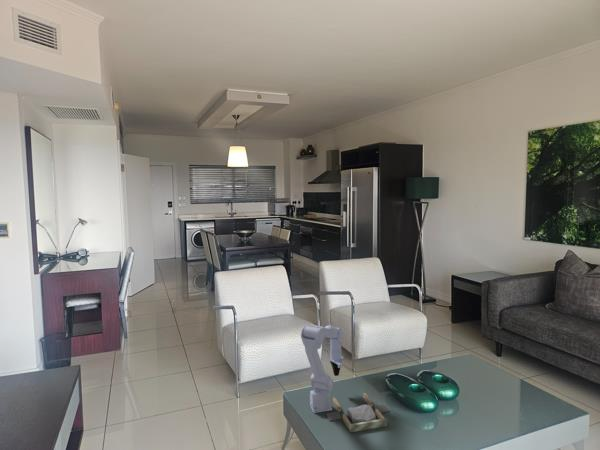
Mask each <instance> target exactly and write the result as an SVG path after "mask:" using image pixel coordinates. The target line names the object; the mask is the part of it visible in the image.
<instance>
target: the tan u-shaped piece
mask: <svg viewBox="0 0 600 450" xmlns="http://www.w3.org/2000/svg"><path fill="white" fill-rule="evenodd" d="M362 395H363V397H362V398H363V399H364V401H365V403H367V404H366V405H370V406H371V408H374V407H373V406H374V405H373V403H374V402H373V401H372V399H371V398H370V397H369V396H368V394H367V393H366V392H363V394H362ZM332 403H333V405H334V406H335V408H336V411H337V412H339V413H341V412H342V406H341V404H340V403H339V401H338V400H337V398H336V397H332ZM374 410H375V411H374V413H375V416H376V418H378V419H376V420H372V421H366V422H360V423H351V421H350V420H349V419H350V418H349V417H348V415H347V414H346V413H342V421H343V422H344V424H345V426H346V428H347V429H348V431H349V432H350V433H355V432H360V431H367V430H372V429H377V428H384V427H388V419H387V418H386V417H385V416H384V415H383V413H381V412H380V411H379V410H378V409H374Z"/></svg>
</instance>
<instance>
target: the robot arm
mask: <svg viewBox="0 0 600 450" xmlns="http://www.w3.org/2000/svg"><path fill="white" fill-rule="evenodd" d="M343 336H344V331H343V329H342V328H340V327H337V326H335V325H332V324H328V325H326V326H321V325H316V324H315V325H314V324H309V325H307V324H306V325H303V327H302V328H301V333H300V339H301V341H302V344H303V346H304V351H305V354H306V357H307V360H308V363H309V365H310V368H311V372H312V373H311V375H310V385H311V388H313V389H312V390H310V391H309V406H310V408H311V410H312V412H313V413H314V414H316V413H323V412H329V411H333V408H332V406H331V404H330V403H331V401H330V397H331V396H330V392H331V391H332V390H333V388H334V380H333V378H332V377H331V375H329V373H327V372H326V371H325V369H324V366H323V363H322V360H321V357H320V354H319V352H318V351H319V349H321V347H322V345H323V342H324V339H325V338H328V339H329V346H330V349H329V353H330V354H329V355H330V357H329V358H330V359H329V363H330V364H331V367H332V368H331V369H332V371H333V375H334V376H335V377H337V376H339V375H340V371H341V369H342V368H343V360H344V356H342V342H343Z"/></svg>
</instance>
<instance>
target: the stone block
mask: <svg viewBox="0 0 600 450" xmlns="http://www.w3.org/2000/svg"><path fill="white" fill-rule="evenodd" d="M346 416H347V418H348V419H350V420H351V422H352V424H354V423H360V422H366V421H372V420H377V416H376V414H375V411H374V408H373V407H371V406H370V405H368V404H361V405H359V406H356V407H351V406H350V407H348V408H347V410H346Z"/></svg>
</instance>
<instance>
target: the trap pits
mask: <svg viewBox="0 0 600 450" xmlns="http://www.w3.org/2000/svg"><path fill="white" fill-rule="evenodd" d="M372 408H373V410H375V409H378V410H379V411H380V412H381V414H383V413H384V414H385V413H390V412H391V410H390V409H389V408H388V407H387V405H386V404H378V405H377V404H376V405H373V407H372ZM325 415H326V417H327V419H328V421H329V422H334V421H335V422H336V421H339V420H340V421H341V420H343V417H342V416H341V415H340V412H338V411H333V412H327V413H325Z"/></svg>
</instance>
